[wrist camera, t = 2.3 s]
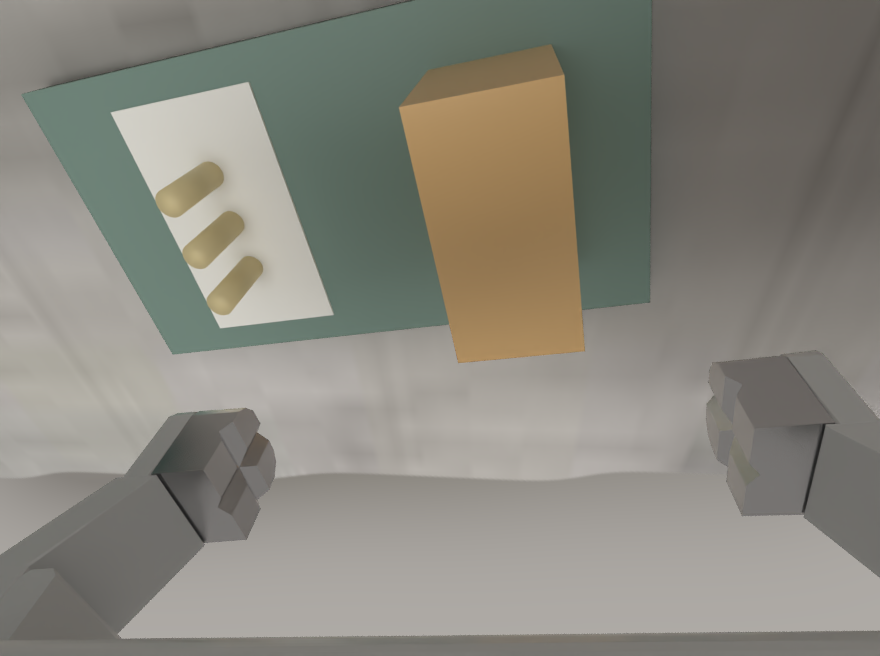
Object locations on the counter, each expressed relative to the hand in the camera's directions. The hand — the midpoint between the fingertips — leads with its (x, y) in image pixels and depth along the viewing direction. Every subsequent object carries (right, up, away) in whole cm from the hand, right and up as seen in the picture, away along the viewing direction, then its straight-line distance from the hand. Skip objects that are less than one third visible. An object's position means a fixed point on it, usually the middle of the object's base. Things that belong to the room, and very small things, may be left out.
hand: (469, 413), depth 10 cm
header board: (-4, +7, +12) cm, 15 cm away
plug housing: (+2, +7, +10) cm, 12 cm away
